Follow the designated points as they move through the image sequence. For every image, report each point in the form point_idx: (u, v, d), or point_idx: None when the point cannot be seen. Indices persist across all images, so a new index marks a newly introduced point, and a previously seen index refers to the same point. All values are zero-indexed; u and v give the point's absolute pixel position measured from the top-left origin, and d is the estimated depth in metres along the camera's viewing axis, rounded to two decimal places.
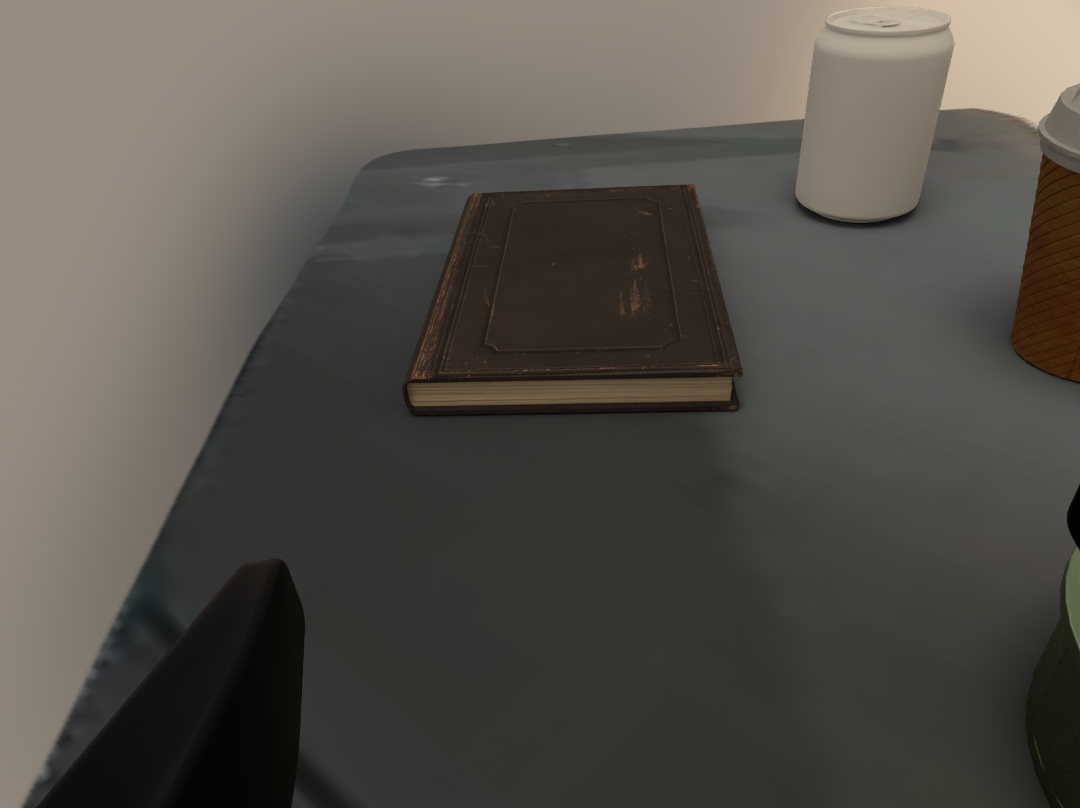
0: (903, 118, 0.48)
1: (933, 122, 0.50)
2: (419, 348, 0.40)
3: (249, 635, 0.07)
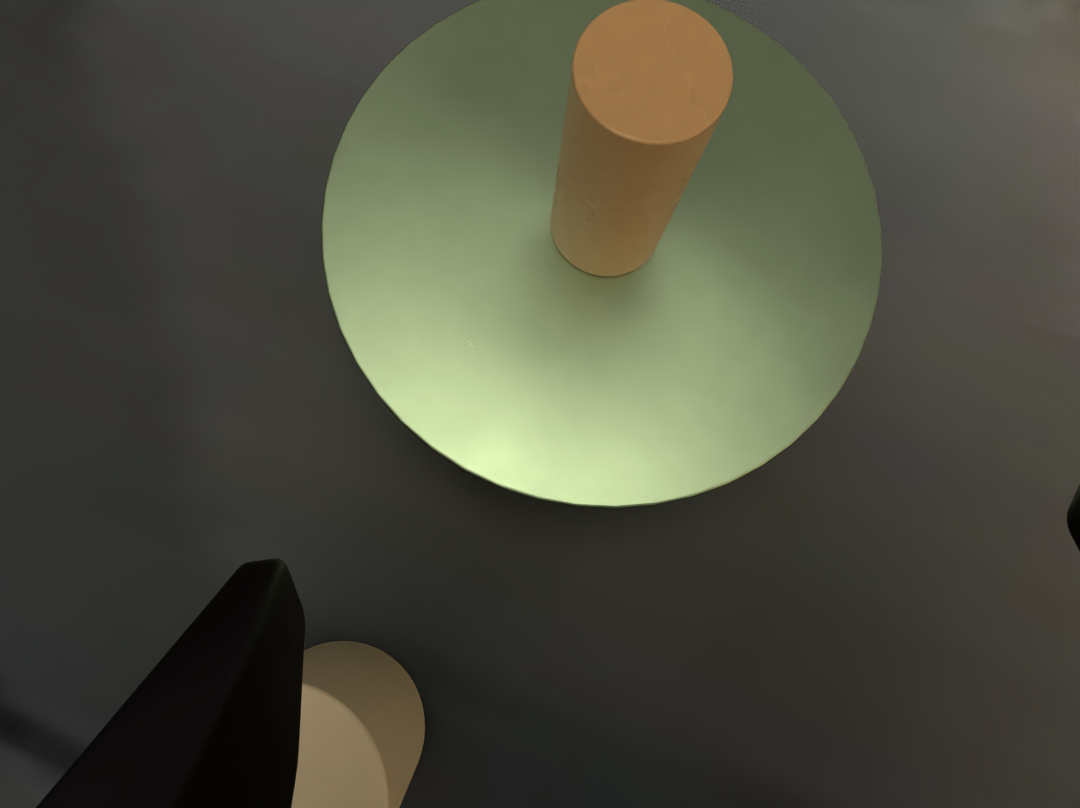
0: None
1: None
2: None
3: (249, 635, 0.07)
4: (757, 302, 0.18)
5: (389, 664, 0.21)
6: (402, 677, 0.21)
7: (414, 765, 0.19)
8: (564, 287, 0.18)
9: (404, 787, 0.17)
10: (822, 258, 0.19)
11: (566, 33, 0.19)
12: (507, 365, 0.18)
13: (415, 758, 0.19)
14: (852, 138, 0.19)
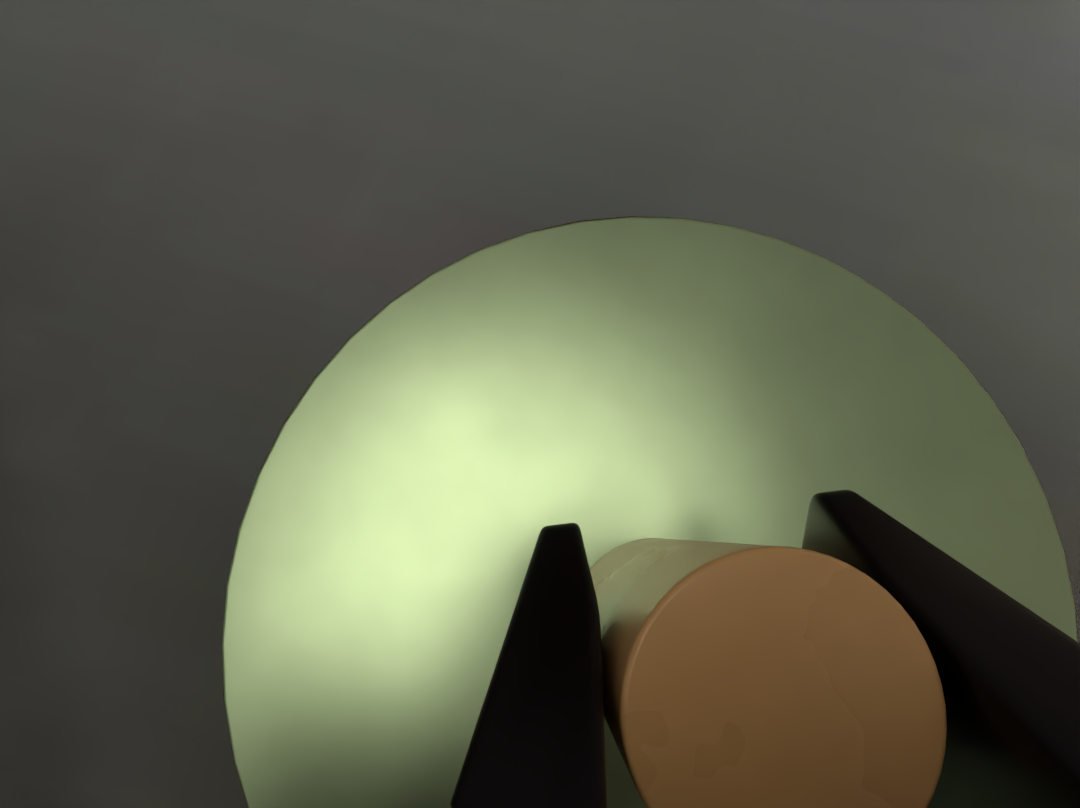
0: None
1: None
2: None
3: (591, 592, 0.07)
4: None
5: None
6: None
7: None
8: None
9: None
10: None
11: (586, 309, 0.13)
12: None
13: None
14: (1026, 463, 0.13)
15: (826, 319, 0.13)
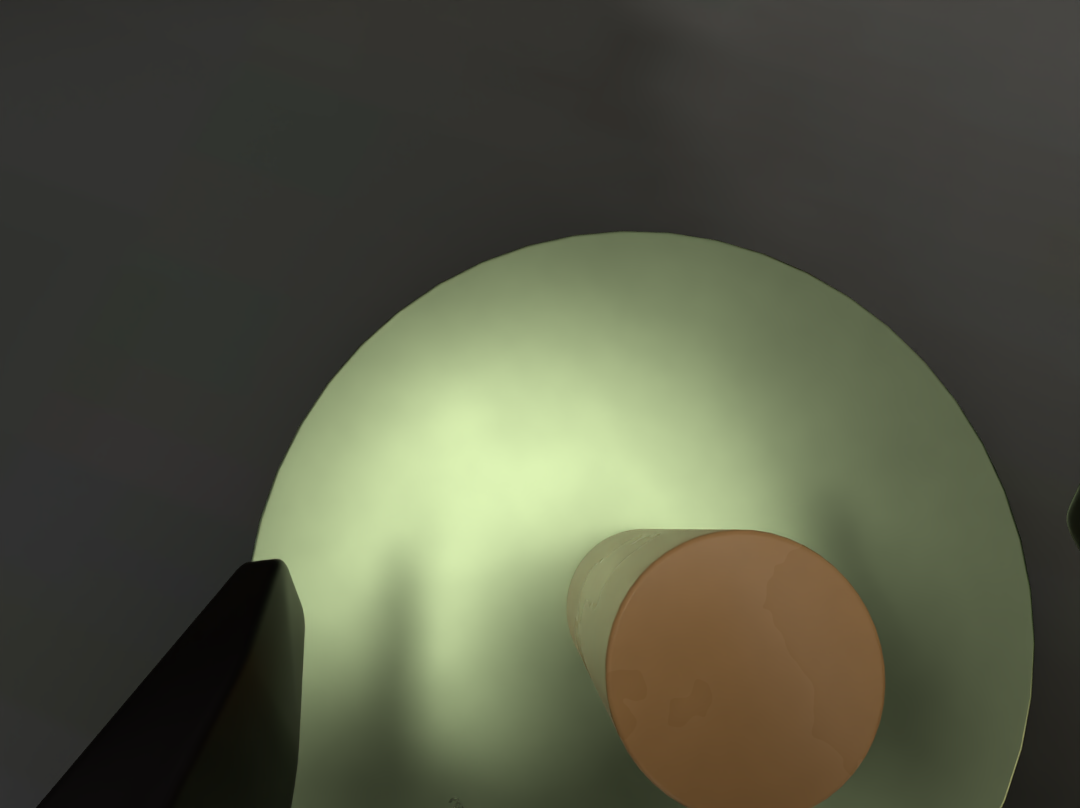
0: None
1: None
2: None
3: (249, 635, 0.07)
4: None
5: None
6: None
7: None
8: (588, 708, 0.13)
9: None
10: (950, 646, 0.13)
11: (580, 318, 0.14)
12: None
13: None
14: (987, 460, 0.14)
15: (803, 326, 0.14)
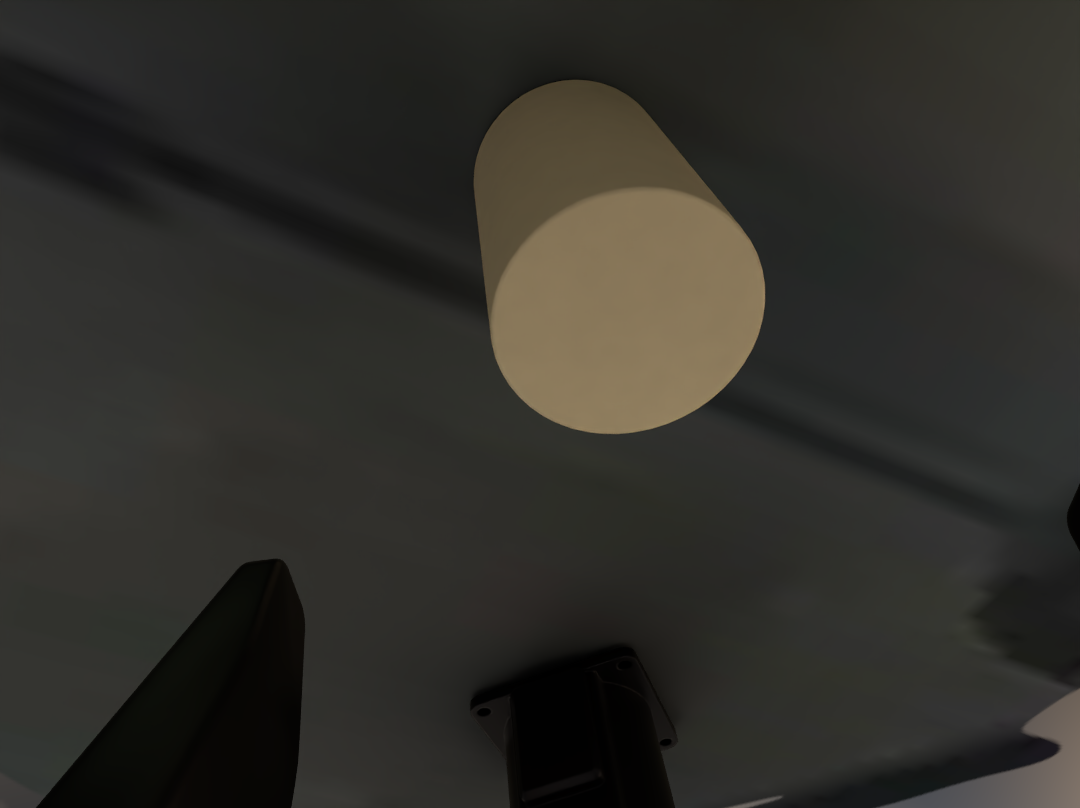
0: None
1: None
2: None
3: (249, 635, 0.07)
4: None
5: (649, 116, 0.17)
6: None
7: None
8: None
9: None
10: None
11: None
12: None
13: None
14: None
15: None
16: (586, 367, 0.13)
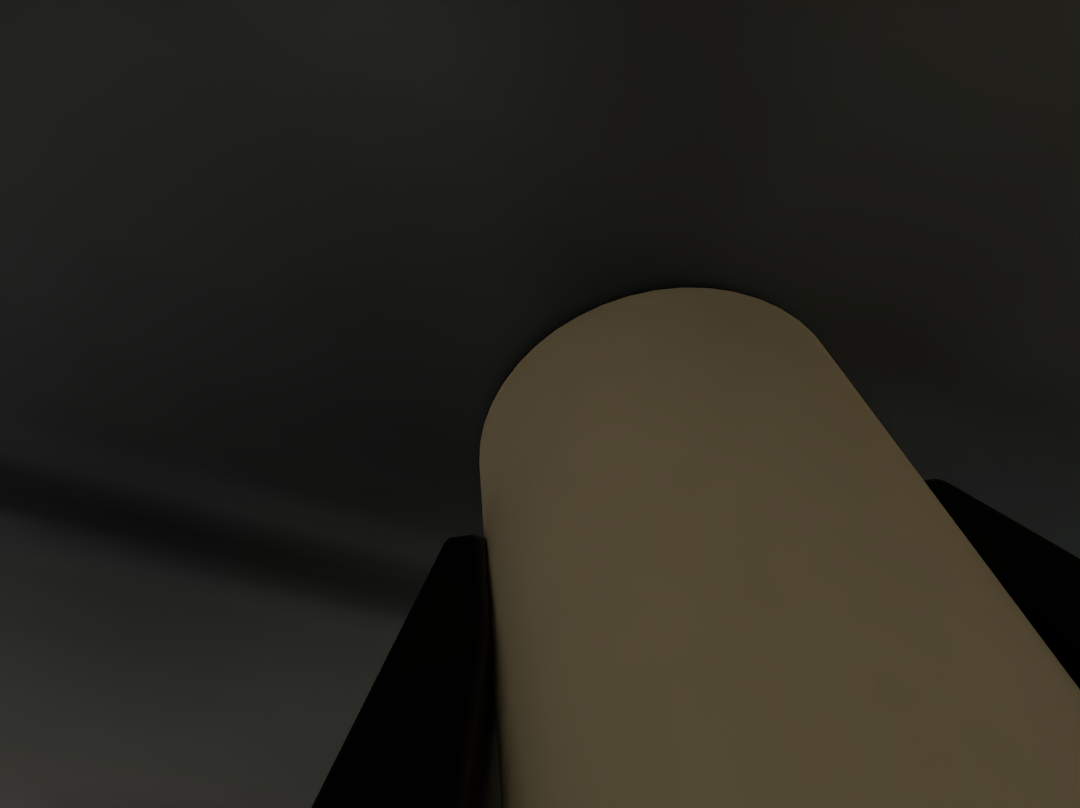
0: None
1: None
2: None
3: (482, 606, 0.07)
4: None
5: (841, 374, 0.08)
6: None
7: None
8: None
9: None
10: None
11: None
12: None
13: None
14: None
15: None
16: None
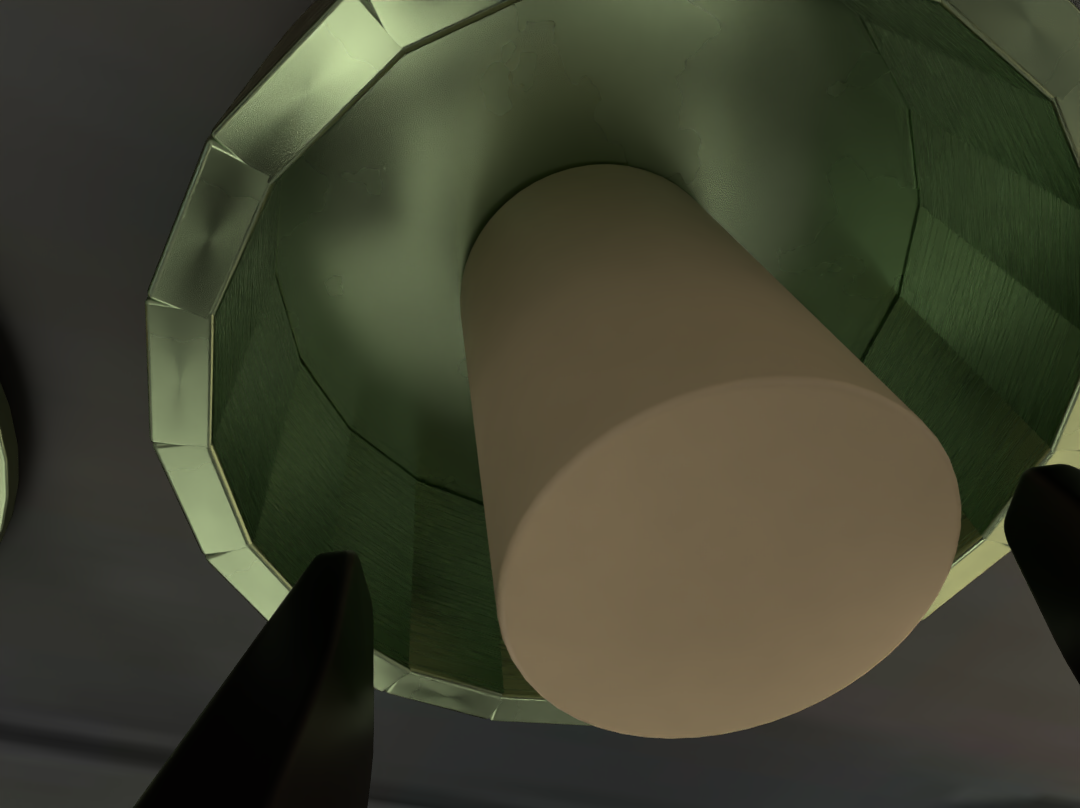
0: None
1: None
2: None
3: (334, 624, 0.07)
4: None
5: (714, 219, 0.12)
6: None
7: None
8: None
9: None
10: None
11: None
12: None
13: None
14: None
15: None
16: (655, 650, 0.08)
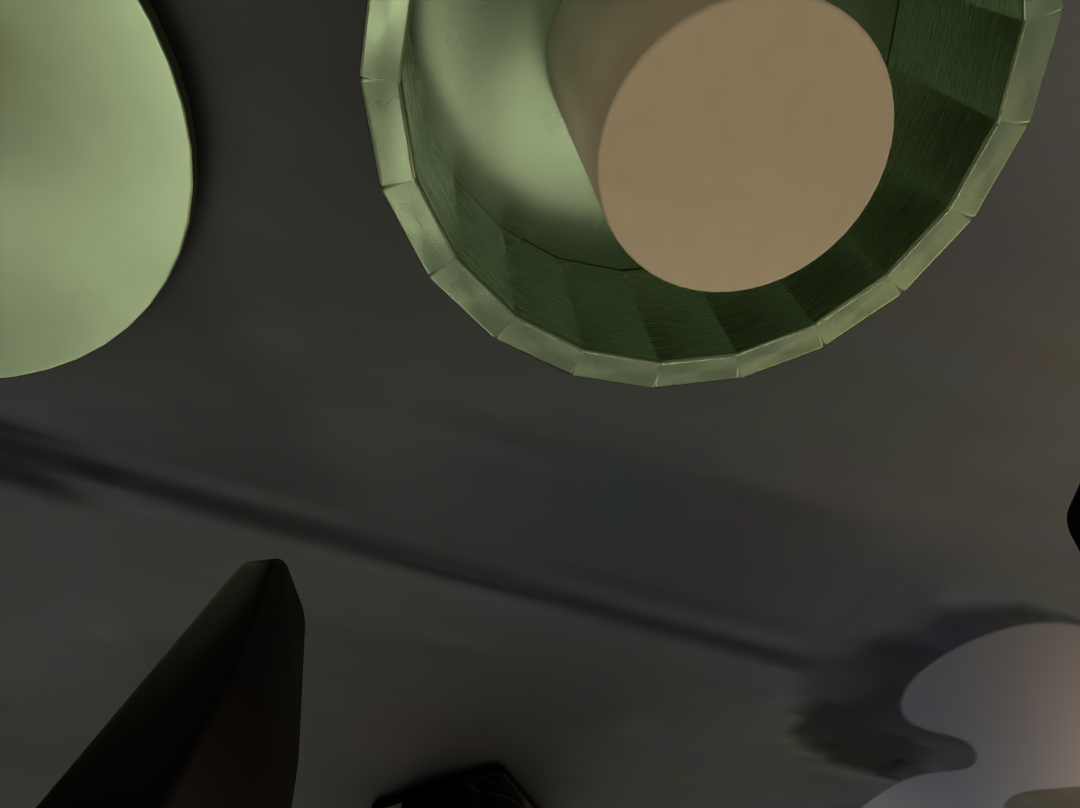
0: None
1: None
2: None
3: (249, 635, 0.07)
4: (60, 199, 0.18)
5: None
6: None
7: None
8: None
9: None
10: (121, 150, 0.17)
11: None
12: None
13: None
14: None
15: None
16: (693, 208, 0.12)
